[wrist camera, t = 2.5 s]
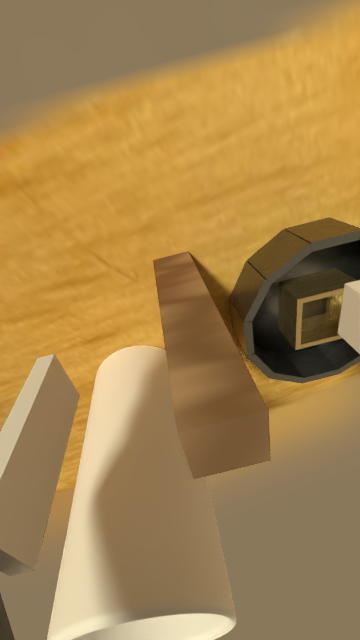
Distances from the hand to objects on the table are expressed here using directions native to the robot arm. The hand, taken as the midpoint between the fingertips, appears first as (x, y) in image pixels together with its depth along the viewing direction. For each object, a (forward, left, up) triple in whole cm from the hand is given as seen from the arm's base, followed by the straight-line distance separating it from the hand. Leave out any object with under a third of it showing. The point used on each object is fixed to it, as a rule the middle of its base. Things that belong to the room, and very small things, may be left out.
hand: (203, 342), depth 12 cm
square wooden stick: (0, 0, -9) cm, 9 cm away
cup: (-6, -10, -9) cm, 15 cm away
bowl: (+10, -5, -9) cm, 14 cm away
